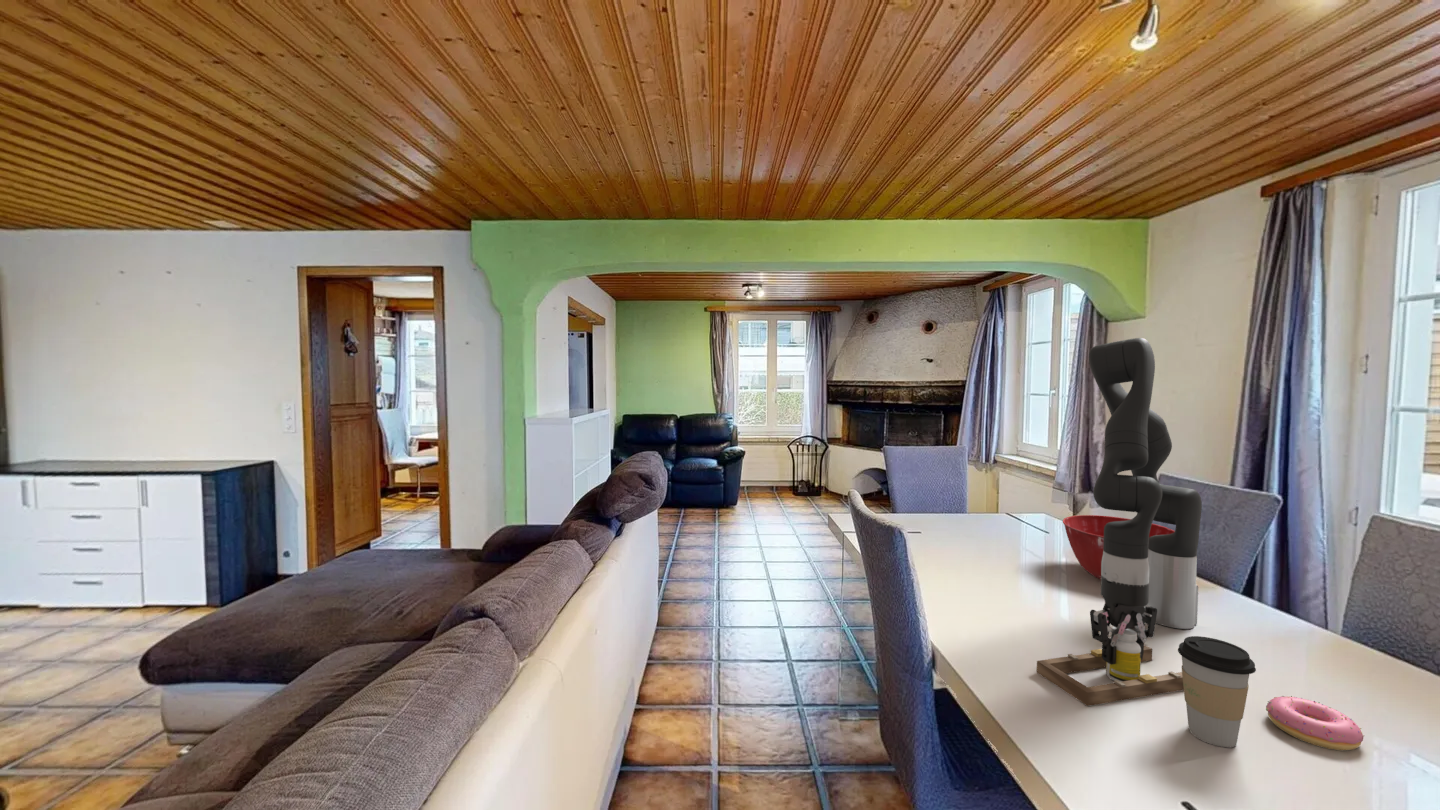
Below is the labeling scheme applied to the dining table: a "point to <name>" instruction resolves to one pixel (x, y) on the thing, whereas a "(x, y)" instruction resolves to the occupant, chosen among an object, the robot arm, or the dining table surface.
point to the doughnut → (1314, 723)
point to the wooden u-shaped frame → (1107, 692)
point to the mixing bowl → (1095, 538)
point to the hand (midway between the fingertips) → (1122, 660)
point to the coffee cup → (1215, 688)
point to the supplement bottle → (1126, 658)
